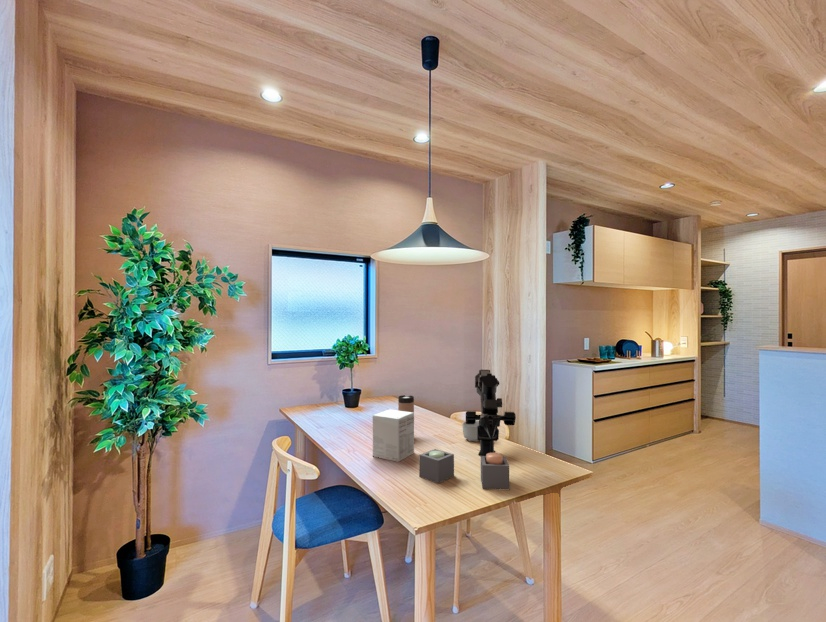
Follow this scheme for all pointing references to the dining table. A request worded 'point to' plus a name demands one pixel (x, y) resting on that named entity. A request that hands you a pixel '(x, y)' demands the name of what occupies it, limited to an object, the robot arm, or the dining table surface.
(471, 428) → the teacup
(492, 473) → the terracotta button housing
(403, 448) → the supplement box
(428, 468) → the grey button housing
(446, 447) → the dining table surface
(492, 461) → the terracotta button
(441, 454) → the green button
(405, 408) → the travel mug
